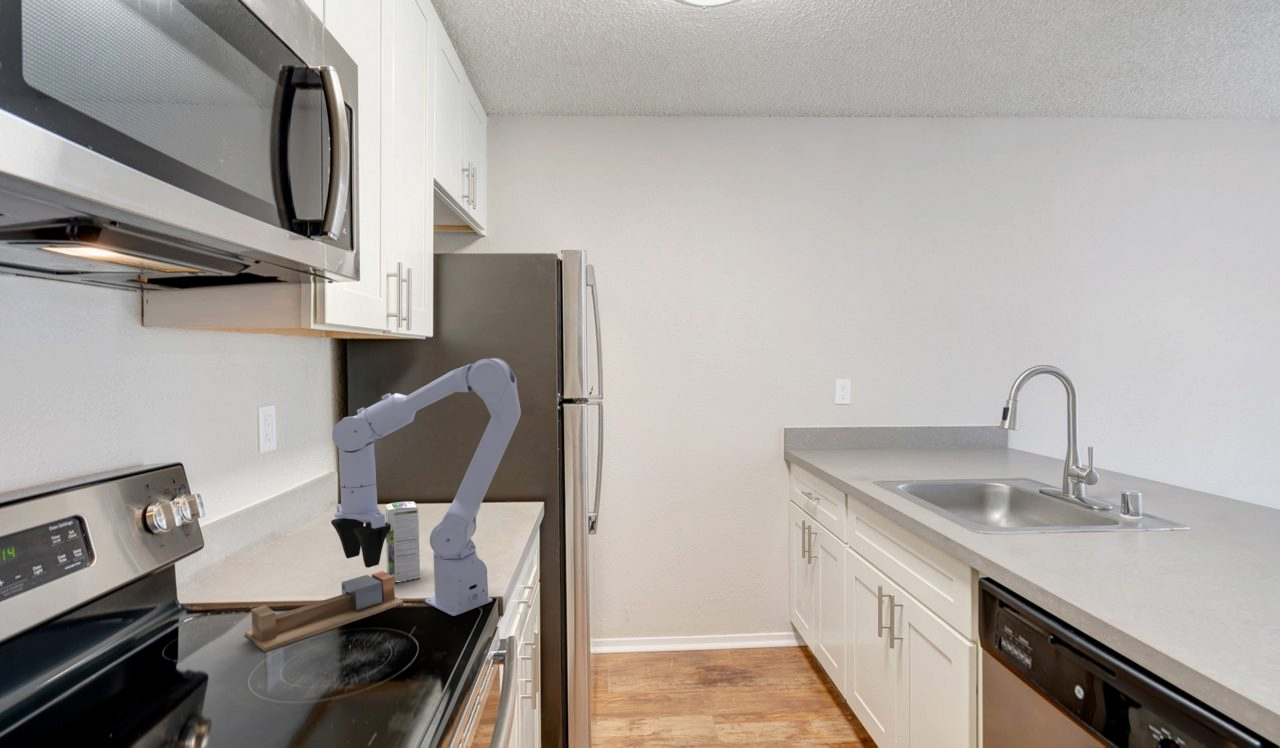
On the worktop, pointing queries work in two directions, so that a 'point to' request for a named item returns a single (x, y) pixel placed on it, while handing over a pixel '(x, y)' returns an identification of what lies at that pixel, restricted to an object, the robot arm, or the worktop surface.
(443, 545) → the robot arm
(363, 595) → the slider
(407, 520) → the syrup box
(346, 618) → the rail
